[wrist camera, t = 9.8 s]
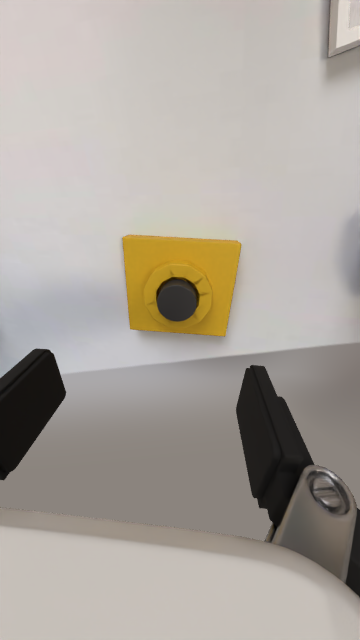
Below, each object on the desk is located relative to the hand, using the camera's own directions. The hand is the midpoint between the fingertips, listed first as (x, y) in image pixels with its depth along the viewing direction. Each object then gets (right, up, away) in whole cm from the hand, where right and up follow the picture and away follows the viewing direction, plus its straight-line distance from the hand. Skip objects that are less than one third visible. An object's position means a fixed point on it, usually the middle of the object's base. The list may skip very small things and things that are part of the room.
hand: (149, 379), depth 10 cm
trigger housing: (+2, +7, +13) cm, 15 cm away
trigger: (+1, +5, +10) cm, 11 cm away
